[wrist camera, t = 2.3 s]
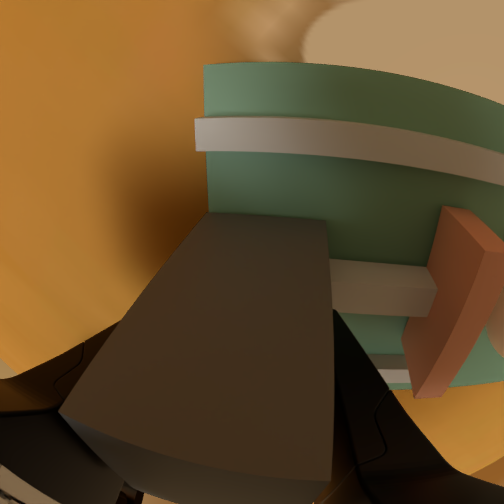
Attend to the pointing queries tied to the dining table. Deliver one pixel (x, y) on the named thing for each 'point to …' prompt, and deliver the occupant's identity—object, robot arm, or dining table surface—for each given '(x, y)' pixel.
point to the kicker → (267, 354)
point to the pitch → (357, 171)
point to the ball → (497, 325)
